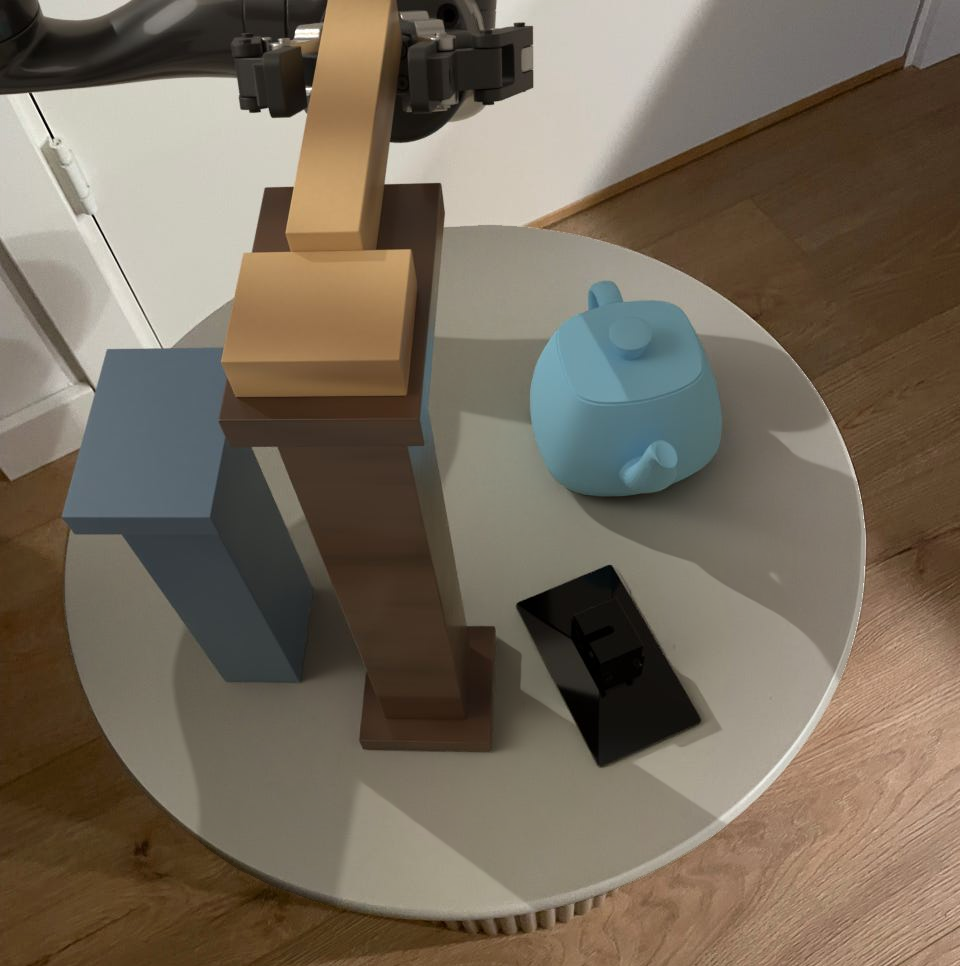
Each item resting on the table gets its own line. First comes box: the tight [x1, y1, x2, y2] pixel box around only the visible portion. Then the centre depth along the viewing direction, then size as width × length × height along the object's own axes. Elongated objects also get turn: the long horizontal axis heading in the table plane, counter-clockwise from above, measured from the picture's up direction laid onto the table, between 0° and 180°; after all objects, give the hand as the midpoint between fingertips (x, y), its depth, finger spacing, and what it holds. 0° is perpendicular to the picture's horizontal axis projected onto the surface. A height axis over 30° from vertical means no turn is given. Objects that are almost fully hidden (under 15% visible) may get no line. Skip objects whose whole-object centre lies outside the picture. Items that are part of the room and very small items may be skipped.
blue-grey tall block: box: [61, 347, 314, 683], centre depth 58 cm, size 10×7×22 cm
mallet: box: [221, 0, 418, 397], centre depth 38 cm, size 19×6×3 cm, turn 177°
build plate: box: [515, 564, 702, 768], centre depth 63 cm, size 12×7×5 cm, turn 23°
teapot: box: [529, 280, 723, 497], centre depth 68 cm, size 13×11×18 cm
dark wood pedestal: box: [218, 182, 497, 753], centre depth 52 cm, size 12×8×32 cm
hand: (345, 84), depth 39 cm, fingers open, 5 cm apart
